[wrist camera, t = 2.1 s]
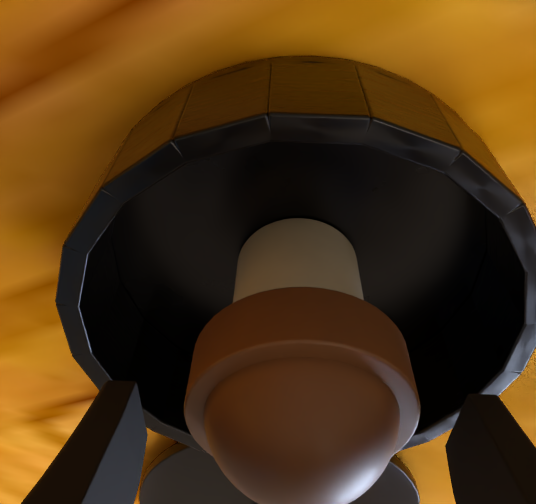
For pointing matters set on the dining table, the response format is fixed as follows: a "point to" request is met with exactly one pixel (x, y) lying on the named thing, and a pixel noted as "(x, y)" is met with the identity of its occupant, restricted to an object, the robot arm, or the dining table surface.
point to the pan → (309, 207)
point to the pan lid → (233, 500)
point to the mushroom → (301, 373)
